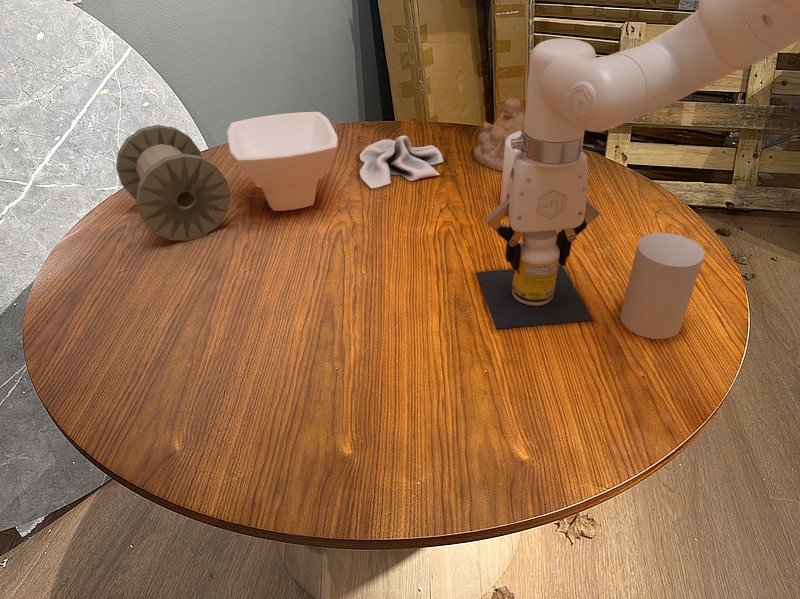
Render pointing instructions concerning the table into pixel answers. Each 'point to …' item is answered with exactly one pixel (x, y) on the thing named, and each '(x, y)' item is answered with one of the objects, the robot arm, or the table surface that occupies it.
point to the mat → (517, 314)
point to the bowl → (284, 155)
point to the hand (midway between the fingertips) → (536, 261)
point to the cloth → (397, 161)
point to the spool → (172, 183)
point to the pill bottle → (536, 268)
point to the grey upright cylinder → (661, 284)
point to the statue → (499, 135)
